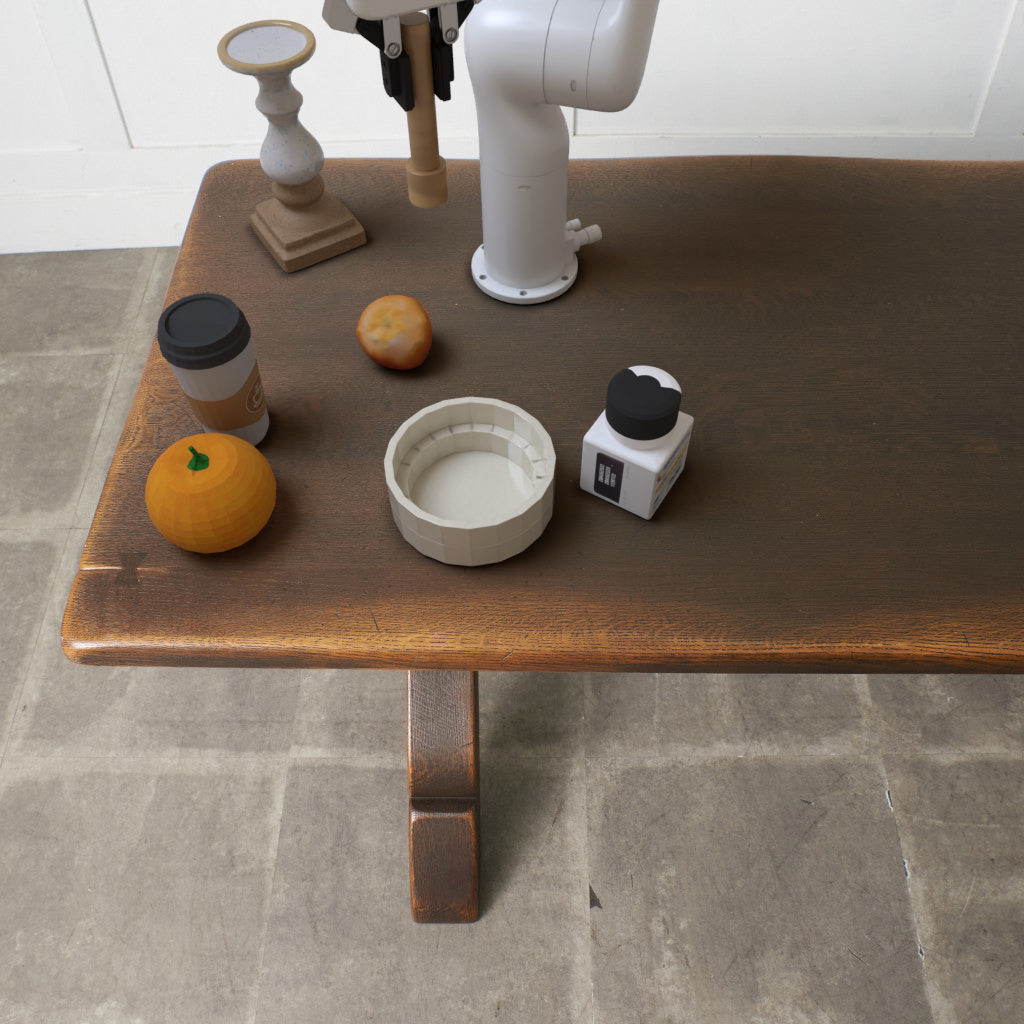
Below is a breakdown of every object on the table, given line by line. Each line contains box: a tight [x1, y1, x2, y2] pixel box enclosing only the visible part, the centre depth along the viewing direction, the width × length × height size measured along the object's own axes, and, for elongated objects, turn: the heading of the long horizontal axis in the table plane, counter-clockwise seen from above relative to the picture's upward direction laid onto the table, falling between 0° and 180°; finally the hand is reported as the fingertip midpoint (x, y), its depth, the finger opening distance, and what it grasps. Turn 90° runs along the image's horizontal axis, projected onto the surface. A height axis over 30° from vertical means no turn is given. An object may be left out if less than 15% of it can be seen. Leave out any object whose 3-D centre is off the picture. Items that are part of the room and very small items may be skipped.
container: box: [579, 365, 695, 520], centre depth 87 cm, size 8×8×13 cm
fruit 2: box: [355, 294, 433, 371], centre depth 101 cm, size 8×8×8 cm
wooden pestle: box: [400, 11, 450, 209], centre depth 70 cm, size 3×3×14 cm
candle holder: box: [216, 19, 367, 274], centre depth 106 cm, size 11×11×24 cm
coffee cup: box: [156, 292, 270, 447], centre depth 90 cm, size 8×8×15 cm
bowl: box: [383, 396, 557, 567], centre depth 88 cm, size 16×16×6 cm
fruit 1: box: [144, 432, 277, 554], centre depth 86 cm, size 12×12×10 cm
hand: (420, 95), depth 68 cm, fingers closed on wooden pestle, 2 cm apart
